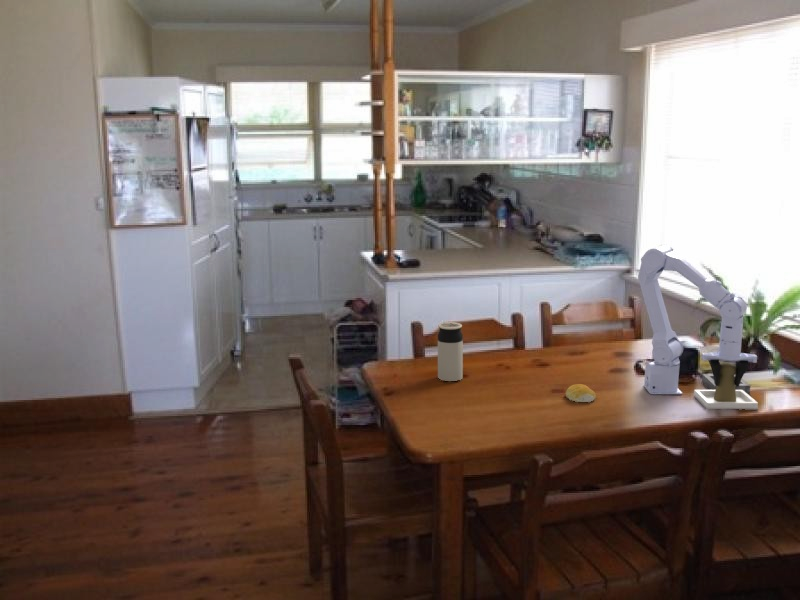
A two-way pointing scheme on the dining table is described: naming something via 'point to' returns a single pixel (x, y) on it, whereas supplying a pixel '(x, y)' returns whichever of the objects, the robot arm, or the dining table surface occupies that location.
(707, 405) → the tray
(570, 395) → the bread roll
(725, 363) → the cork
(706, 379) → the holder
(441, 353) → the travel mug
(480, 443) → the dining table surface
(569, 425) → the dining table surface
